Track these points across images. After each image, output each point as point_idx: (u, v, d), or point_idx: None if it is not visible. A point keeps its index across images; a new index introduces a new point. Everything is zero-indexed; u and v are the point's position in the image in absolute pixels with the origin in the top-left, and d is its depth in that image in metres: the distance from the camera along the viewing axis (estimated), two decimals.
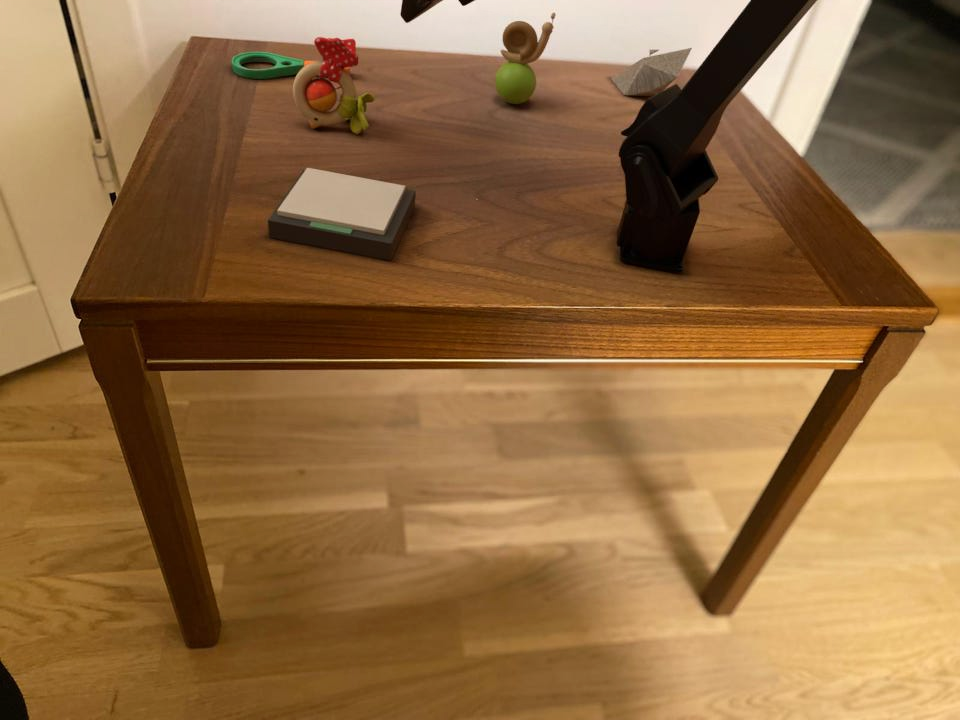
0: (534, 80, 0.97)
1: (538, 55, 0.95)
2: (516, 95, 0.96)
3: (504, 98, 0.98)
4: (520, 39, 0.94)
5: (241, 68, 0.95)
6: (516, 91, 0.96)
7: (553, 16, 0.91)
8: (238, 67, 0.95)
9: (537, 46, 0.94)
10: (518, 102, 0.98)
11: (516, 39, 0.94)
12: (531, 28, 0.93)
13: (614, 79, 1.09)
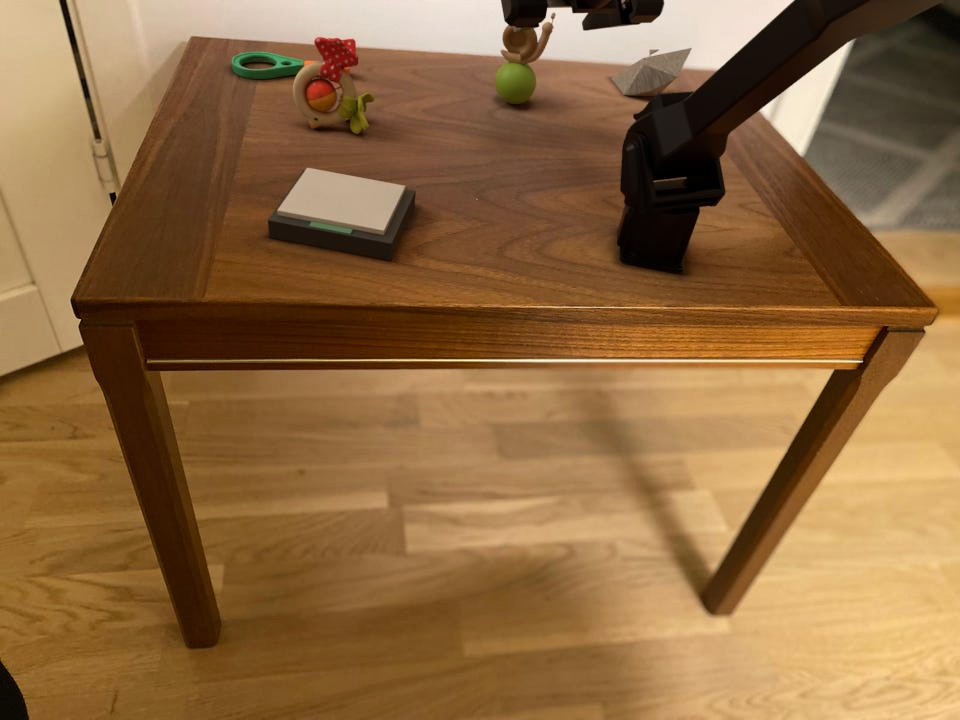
0: (534, 80, 0.97)
1: (538, 55, 0.95)
2: (516, 95, 0.96)
3: (504, 98, 0.98)
4: (519, 39, 0.94)
5: (241, 68, 0.95)
6: (516, 91, 0.96)
7: (553, 16, 0.91)
8: (238, 67, 0.95)
9: (537, 46, 0.94)
10: (518, 102, 0.98)
11: (516, 39, 0.94)
12: None
13: (614, 79, 1.09)
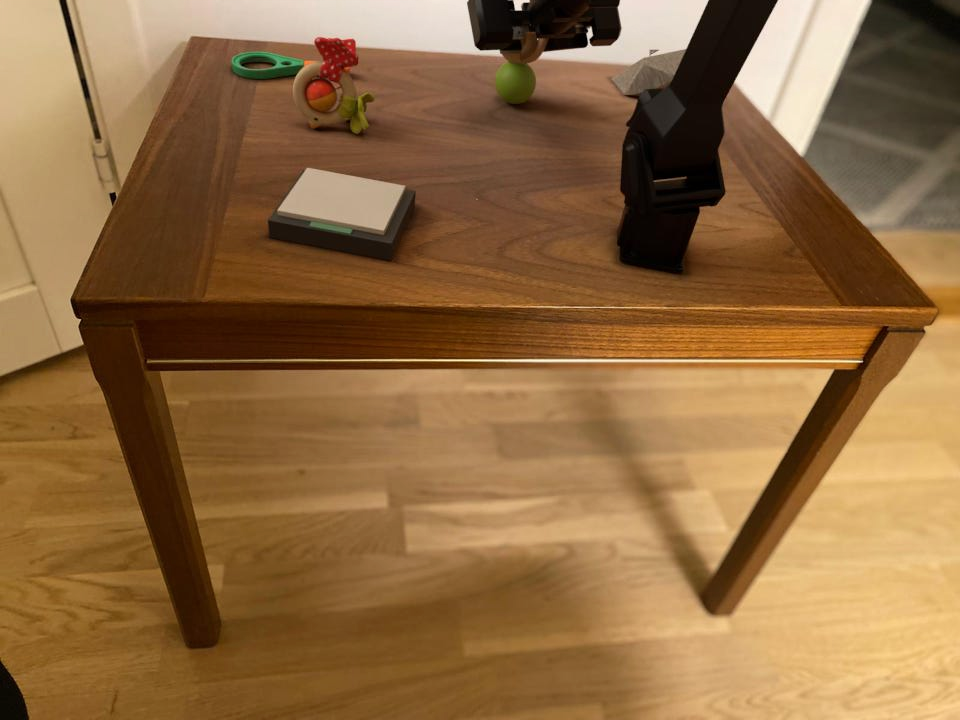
0: (534, 80, 0.97)
1: (538, 55, 0.95)
2: (516, 95, 0.96)
3: (504, 98, 0.98)
4: None
5: (241, 68, 0.95)
6: (516, 91, 0.96)
7: None
8: (238, 67, 0.95)
9: (536, 46, 0.94)
10: (518, 102, 0.98)
11: None
12: None
13: (614, 79, 1.09)
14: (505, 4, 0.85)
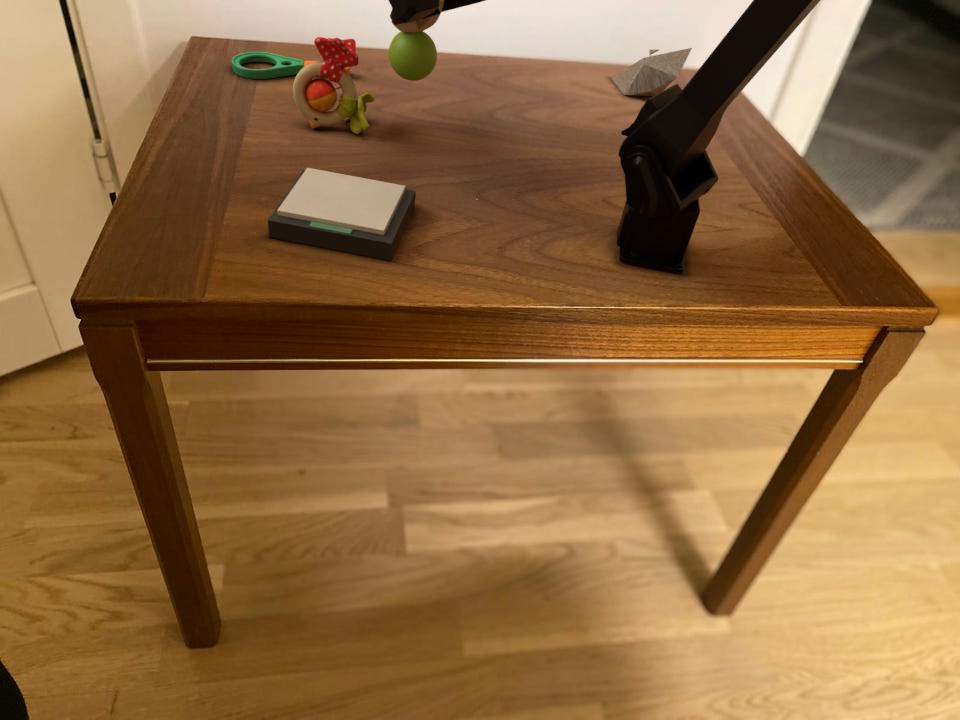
0: (435, 47, 0.83)
1: (437, 17, 0.81)
2: (423, 69, 0.82)
3: (408, 76, 0.83)
4: None
5: (241, 68, 0.95)
6: (424, 64, 0.82)
7: None
8: (238, 67, 0.95)
9: None
10: (424, 77, 0.84)
11: None
12: None
13: (614, 79, 1.09)
14: None
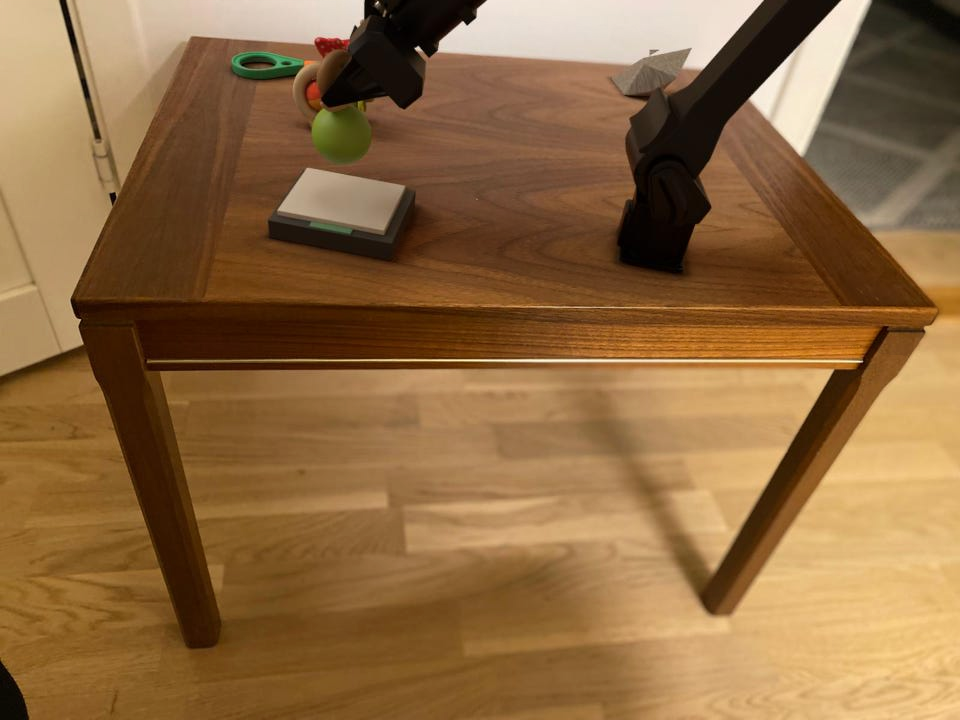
0: None
1: None
2: (367, 148, 0.68)
3: (351, 161, 0.68)
4: None
5: (241, 68, 0.95)
6: (368, 142, 0.68)
7: None
8: (238, 67, 0.95)
9: None
10: None
11: None
12: None
13: (614, 79, 1.09)
14: (398, 32, 0.57)
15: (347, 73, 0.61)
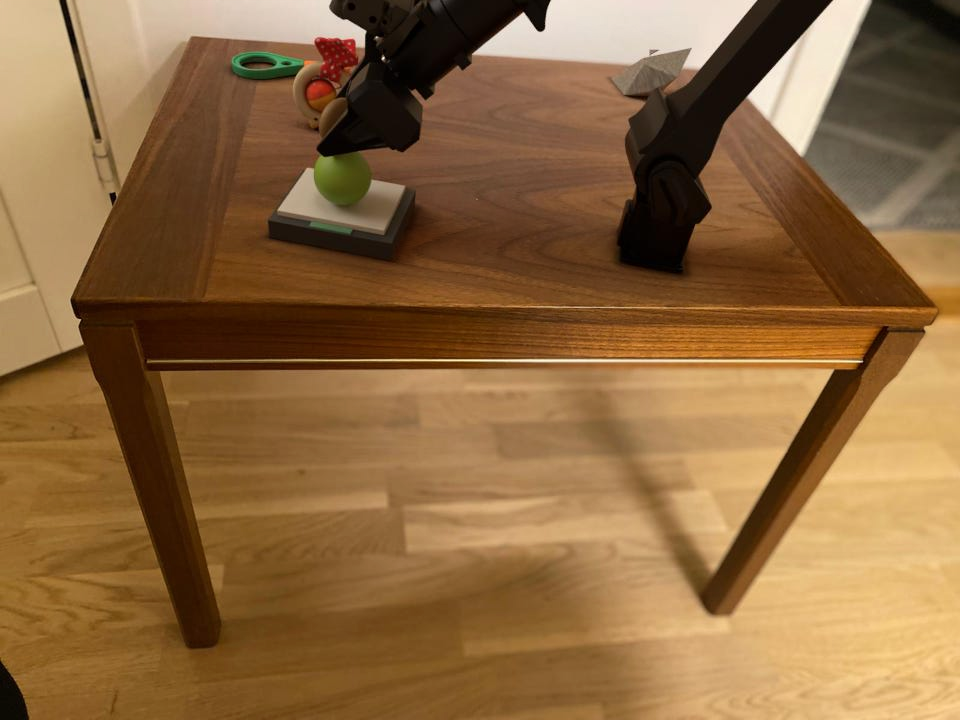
0: None
1: None
2: (367, 190, 0.71)
3: (351, 202, 0.70)
4: None
5: (241, 68, 0.95)
6: (368, 184, 0.70)
7: None
8: (238, 67, 0.95)
9: None
10: None
11: None
12: None
13: (614, 79, 1.09)
14: (396, 78, 0.59)
15: (343, 125, 0.61)
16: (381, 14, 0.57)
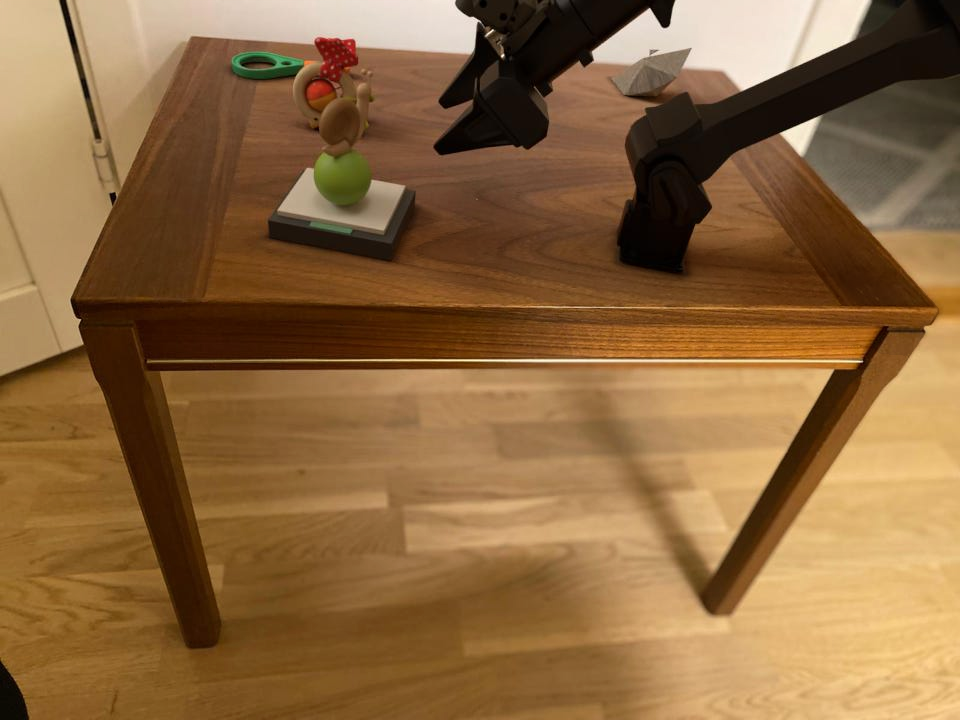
0: None
1: (363, 128, 0.69)
2: (367, 190, 0.71)
3: (351, 202, 0.70)
4: (341, 122, 0.67)
5: (241, 68, 0.95)
6: (368, 184, 0.70)
7: (372, 73, 0.67)
8: (238, 67, 0.95)
9: (360, 119, 0.68)
10: None
11: (338, 124, 0.66)
12: (351, 101, 0.66)
13: (614, 79, 1.09)
14: (524, 75, 0.58)
15: (465, 123, 0.61)
16: (512, 11, 0.57)
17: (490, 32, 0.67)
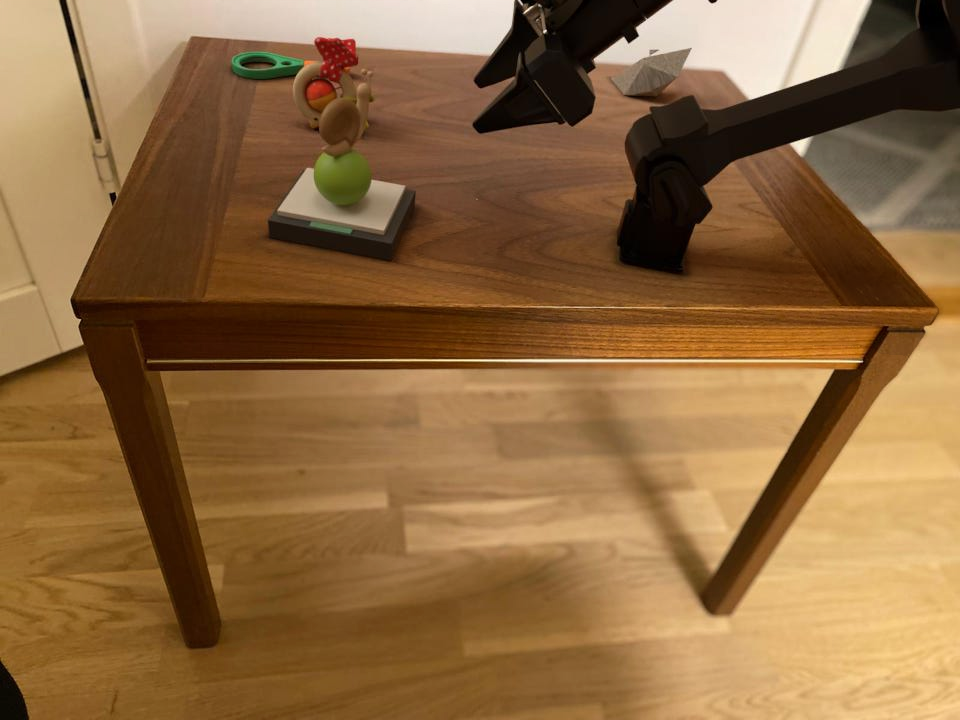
0: None
1: (363, 128, 0.69)
2: (367, 190, 0.71)
3: (351, 202, 0.70)
4: (341, 122, 0.67)
5: (241, 68, 0.95)
6: (368, 184, 0.70)
7: (372, 73, 0.67)
8: (238, 67, 0.95)
9: (360, 119, 0.68)
10: None
11: (338, 124, 0.66)
12: (351, 101, 0.66)
13: (614, 79, 1.09)
14: (569, 50, 0.57)
15: (507, 100, 0.60)
16: None
17: (529, 9, 0.66)
